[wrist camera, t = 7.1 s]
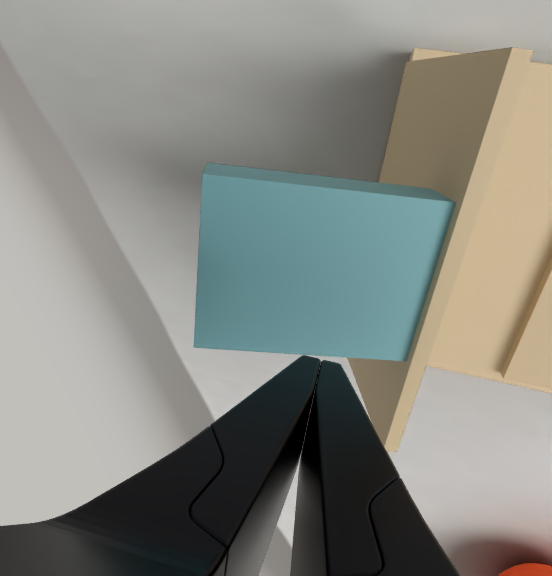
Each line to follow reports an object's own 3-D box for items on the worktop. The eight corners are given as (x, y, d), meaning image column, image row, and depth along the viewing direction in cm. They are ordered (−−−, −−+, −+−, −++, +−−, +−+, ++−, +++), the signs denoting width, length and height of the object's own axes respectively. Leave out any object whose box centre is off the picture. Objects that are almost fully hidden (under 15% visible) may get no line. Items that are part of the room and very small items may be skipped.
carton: (815, 102, 15) (880, 101, 13) (633, 393, 20) (660, 423, 18) (408, 52, 17) (413, 45, 15) (344, 331, 22) (342, 352, 20)
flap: (533, 50, 9) (209, -2, 8) (397, 451, 14) (188, 443, 13) (419, 63, 15) (223, 33, 14) (351, 343, 20) (204, 333, 19)
